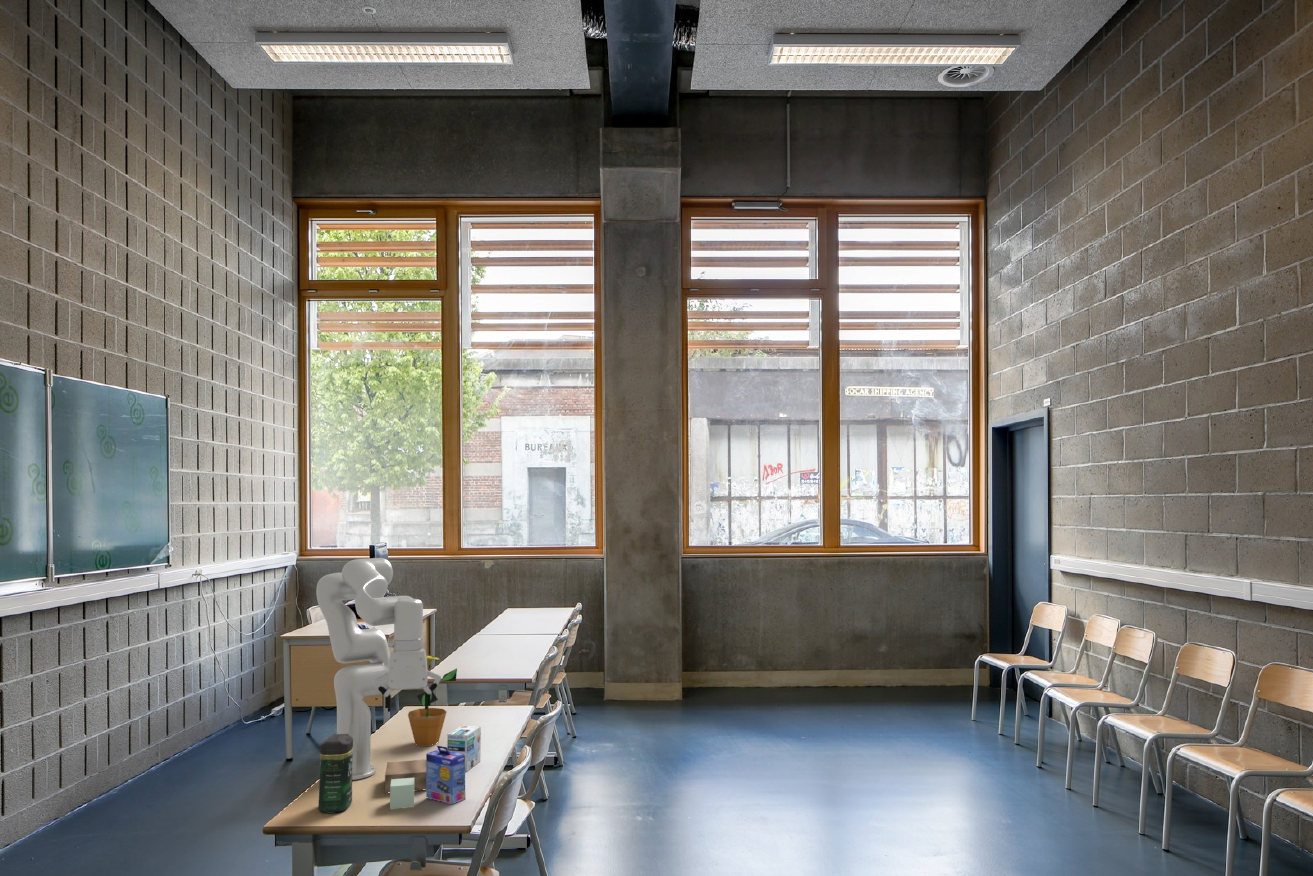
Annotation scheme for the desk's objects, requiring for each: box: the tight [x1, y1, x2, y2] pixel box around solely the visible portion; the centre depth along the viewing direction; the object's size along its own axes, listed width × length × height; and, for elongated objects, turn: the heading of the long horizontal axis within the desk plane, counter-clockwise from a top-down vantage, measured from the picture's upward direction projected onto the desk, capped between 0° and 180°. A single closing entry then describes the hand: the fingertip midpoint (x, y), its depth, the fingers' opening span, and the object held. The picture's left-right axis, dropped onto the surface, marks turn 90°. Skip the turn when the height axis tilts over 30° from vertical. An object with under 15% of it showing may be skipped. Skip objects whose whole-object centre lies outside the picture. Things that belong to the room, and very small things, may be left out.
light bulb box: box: [446, 725, 482, 772], centre depth 274 cm, size 11×7×11 cm, turn 168°
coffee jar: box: [317, 733, 353, 814], centre depth 239 cm, size 10×8×19 cm
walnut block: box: [384, 759, 426, 794], centre depth 257 cm, size 12×12×5 cm
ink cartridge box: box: [425, 745, 466, 805], centre depth 245 cm, size 10×6×14 cm, turn 60°
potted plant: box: [407, 654, 458, 747], centre depth 299 cm, size 18×19×30 cm
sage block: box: [389, 778, 415, 810], centre depth 241 cm, size 6×6×6 cm
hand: (407, 709), depth 243 cm, fingers open, 9 cm apart
